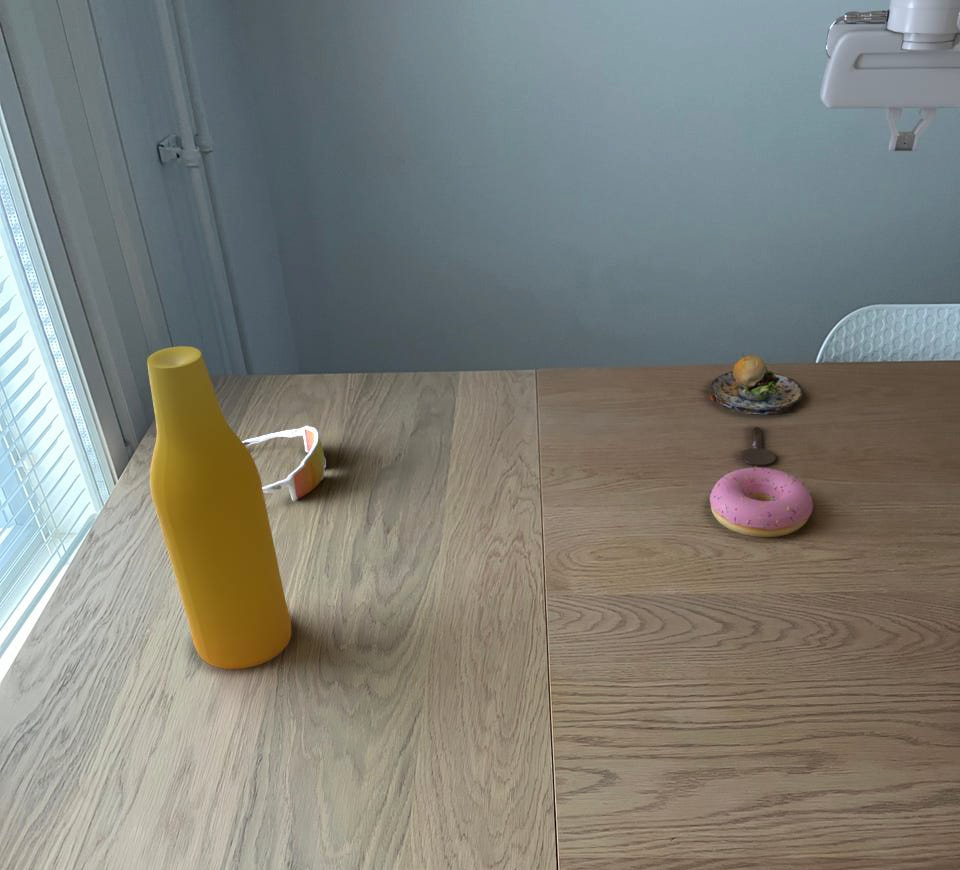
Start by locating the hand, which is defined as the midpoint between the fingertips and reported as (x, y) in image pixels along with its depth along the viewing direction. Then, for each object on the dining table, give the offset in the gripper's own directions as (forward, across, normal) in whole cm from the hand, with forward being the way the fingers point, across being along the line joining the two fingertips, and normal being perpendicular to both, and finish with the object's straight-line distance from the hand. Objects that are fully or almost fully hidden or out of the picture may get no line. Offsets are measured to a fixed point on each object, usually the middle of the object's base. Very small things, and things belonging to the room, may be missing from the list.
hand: (902, 150), depth 114 cm
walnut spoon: (+29, -13, -21) cm, 38 cm away
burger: (+29, -13, -6) cm, 33 cm away
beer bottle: (+29, -62, -64) cm, 94 cm away
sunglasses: (+29, -71, -34) cm, 84 cm away
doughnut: (+29, -13, -35) cm, 48 cm away
